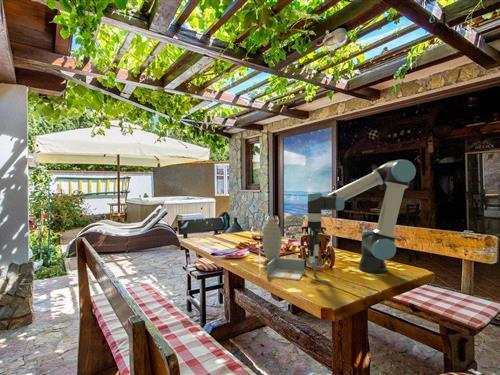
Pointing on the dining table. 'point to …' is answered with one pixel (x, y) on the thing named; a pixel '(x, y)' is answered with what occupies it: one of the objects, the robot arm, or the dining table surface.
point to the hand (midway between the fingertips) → (314, 258)
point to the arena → (285, 268)
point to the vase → (272, 240)
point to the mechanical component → (314, 264)
